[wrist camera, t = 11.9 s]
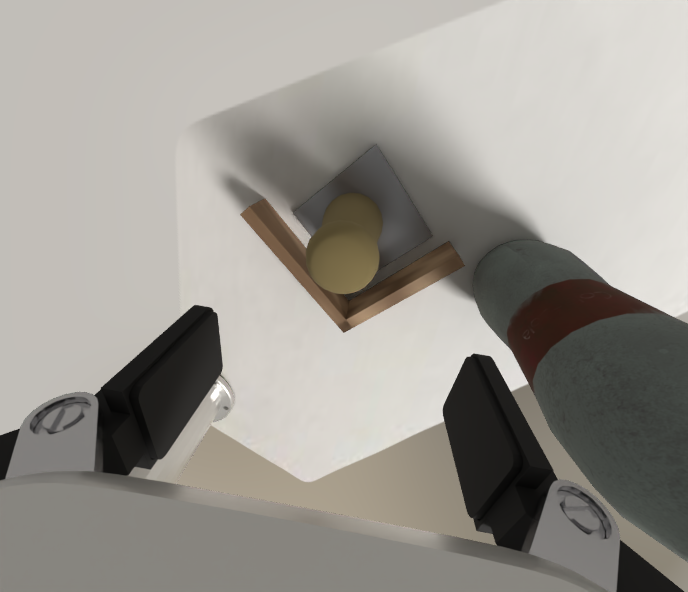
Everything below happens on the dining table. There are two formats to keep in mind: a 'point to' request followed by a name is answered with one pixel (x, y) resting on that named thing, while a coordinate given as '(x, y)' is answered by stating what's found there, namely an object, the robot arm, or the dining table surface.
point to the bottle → (599, 378)
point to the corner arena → (395, 240)
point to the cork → (346, 244)
